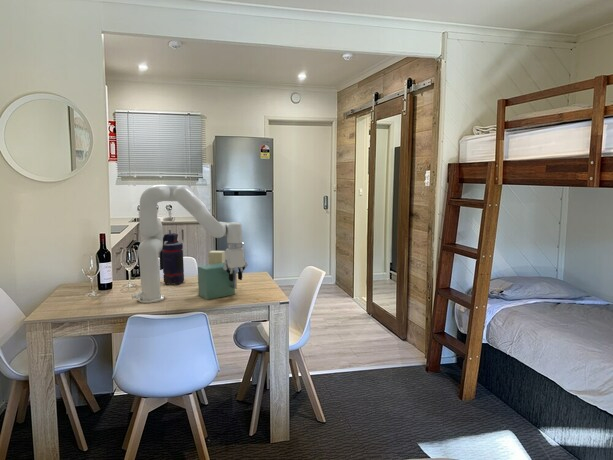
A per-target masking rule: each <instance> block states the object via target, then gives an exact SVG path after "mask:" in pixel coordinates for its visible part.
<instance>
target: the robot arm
mask: <svg viewBox="0 0 613 460" xmlns="http://www.w3.org/2000/svg"><path fill="white" fill-rule="evenodd" d="M162 202H177V203H178V204H179V205H181V207H182V208H184V209H185V210H186V211H187V212H188V213H189V214H190V215H191V216H192V217H193V218H194V219H195V220H196V222H197V223H198V224H199V225H200V226H201V227H202V228H203V229H204V230H205V231H206V232H207V233H208V234H209V235H210V236H212V237H213V238H216V239H220V238H223V237H224V236H226V247H227V248H226V249H225V250H224V251H225V264H224V266H223V268H222V269H224V270H225V271H227V272H228V273H229V280H230V281H232V282H233V274H232V271H233V268H234V269H237V270H238V271H237V280H239V281H242V280H243V273H244V271H245V269H246V268H247V267H249V265H248V263H247V262H246V257H245V251H244V247H243V246H244V245H245V242H243V235H242V232H243V231H242V230H243V229H242V224H241V222H238V221H229V222H225V221H218V220H217V219H216V218H215V217H214V216H213V214H211V213H210V211H209V209H208V207H207V205H206V203H204V202H203V201H202V200H201V199H200V198H199V197H198V196H197V195H195V193H194V192H193V190H192V188H191V187H190V186H189V185H171V184H156V185H152V186H150V187H148V188H146V189H145V190H144V191H143V192H142V193H141V195H140V198H139V232H140V234H141V236H143V237H144V240H143V241H141V242H140V243H139V245H138V247H137V257H138V261H139V272H140V273H139V277H140V291H139V293H137V294H131V300H133V299H136V300H138V302H139V303H142V304H150V303H151V304H152V303H157V302H161V301H163V300H165V296H164V295H163V294H162V288H161V272H160V271H161V270H160V258H159V253H160V252H161V250H162V247H163V237H164V227H163V223H162V221H161V220H160V219H159V218H158V203H162ZM226 267H228V269H227V268H226Z"/></svg>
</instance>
